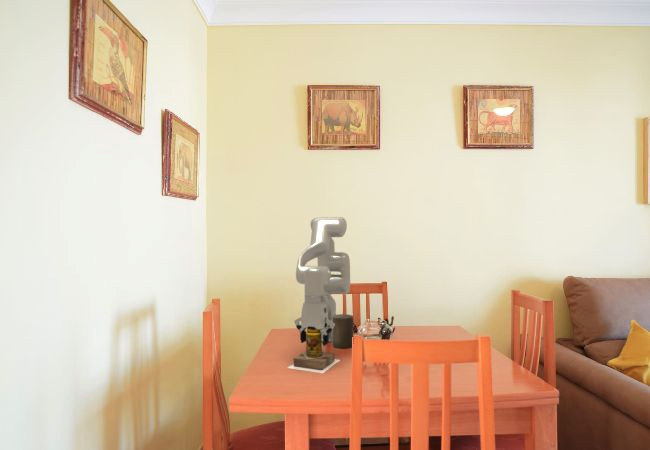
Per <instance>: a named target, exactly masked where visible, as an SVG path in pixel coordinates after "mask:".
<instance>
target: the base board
mask: <svg viewBox="0 0 650 450" xmlns="http://www.w3.org/2000/svg"><path fill="white" fill-rule="evenodd" d="M340 361H341V359H336V358H335V361H334V362H333V363H332V364H330V365H329V366H327V367H326V368H325V369H323V370H315V369H308V368H301V367H295V366H294V363H293V364H291V365H289V366H287V369H293V370H298V371H299V370H300V371H305V372H313V373H317V374H325V372H327V371H328V370H330V368H332V367H333V366H335V365H336V364H337V363H338V362H340Z"/></svg>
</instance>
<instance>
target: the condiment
mask: <svg viewBox="0 0 650 450" xmlns="http://www.w3.org/2000/svg"><path fill="white" fill-rule="evenodd" d="M322 345H323V342H322V339H321V332H320V330H317V329H316V328H315V327H308V328H306V341H305V352H306V353H304V352H301V354H303V355H304V356H305V357H306V358H307V359H315V358H322V357H326V356H324V355H323V354H322V352H323V351H322V350H323V349H322Z"/></svg>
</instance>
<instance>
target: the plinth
mask: <svg viewBox="0 0 650 450" xmlns="http://www.w3.org/2000/svg"><path fill="white" fill-rule="evenodd" d="M303 353H306V351H304V352H303ZM322 354H323V355H324V356H326V357H322V358H315V359H307V358H306V357H305V356H304V355H303V354H302V353H301V354H299V355H297V356H296V357H294V358H293V364H294V366H295V367H301V368H308V369H315V370H323V369H325V368H326V367H327V366H329V365H330V364H332V363H333V362H334V361H335V359H336V358H335V353H333V352H332V353H330V352H324V351H322Z"/></svg>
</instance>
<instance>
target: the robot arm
mask: <svg viewBox="0 0 650 450" xmlns="http://www.w3.org/2000/svg"><path fill="white" fill-rule="evenodd" d="M347 223H348V222H347V220H346V219H345V217H342V216H336V217H335V216H330V217H329V216H328V217H327V216H320V217H314V218H312V219H311V220H310V230H311V236H310V243H309V244H310V245H308V247H307V248H306V249H305V250H303V251H302V252H301V253H300V255H299V257H298V258H297V264H296V271H295V280H296V281H297V283H299V284H301V285H304V302H303V303H302V308H301V314H300V315H301V316H300V317H299V318H297V319H294V320H293V322H294V324H295V326H296V328H297V330H298V332H299V335H300V336H299V337H300V338H299V339H300V343H301V344H303V343H306V333H307V328H308V327H315V328H316V329H317V330H320V332H321V339H322V345H323V346H327V345H328V344H329V342H330V343H333V328H334V326H335V323H333V316H334V315H337V304H336V300H335V299H334V297H333V296H332V295H347V294H348V293H350V291H351V290H350V289H351V261H350V256H349V254H348V253H346V252H343V251H341V252H338V251H335V250H336V249H335V241H334V239H333V238H343V237H344V236H345V234H346V231H347V227H348V225H347ZM314 259H317V265H307V263H308V262H310V261H312V260H314ZM332 272H334V273H333V274H332ZM335 272H336V273H337V272H339V273H340V274H338V273H337V274H335ZM300 323H301V324H300Z"/></svg>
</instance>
